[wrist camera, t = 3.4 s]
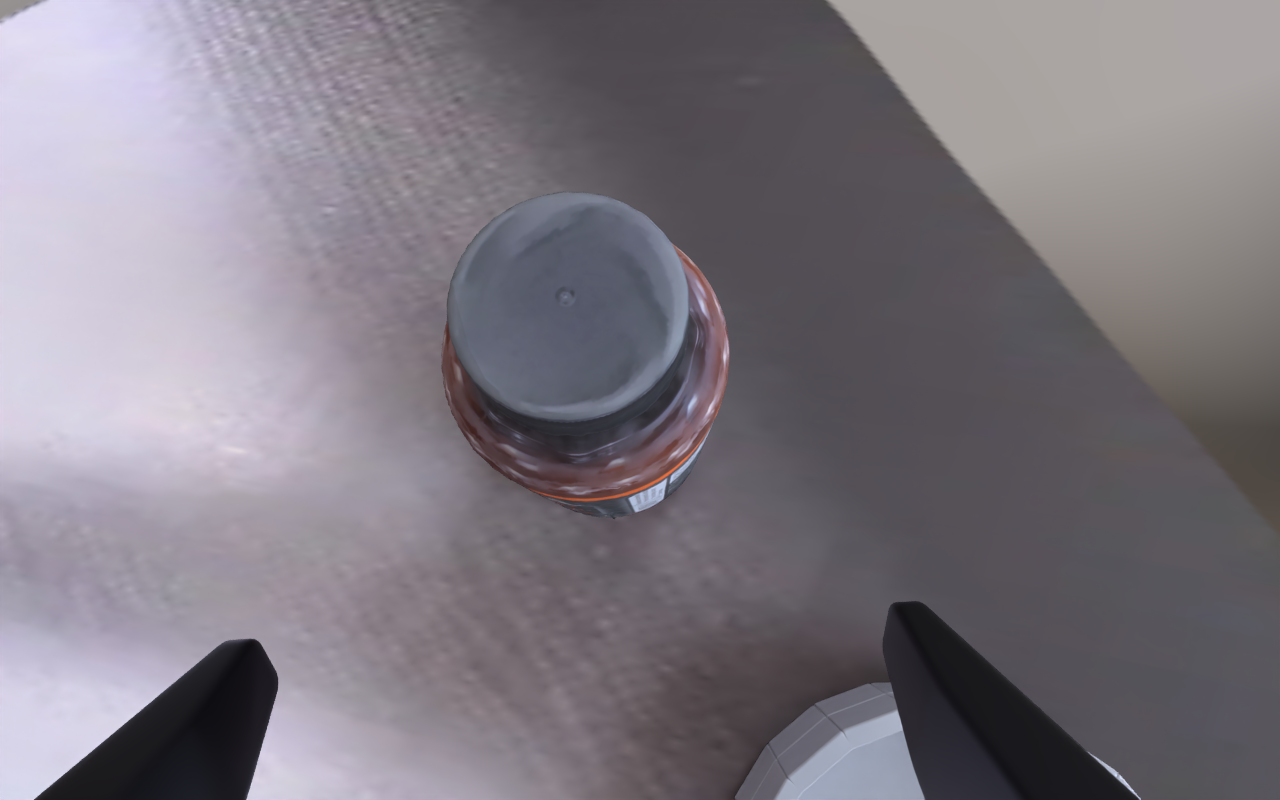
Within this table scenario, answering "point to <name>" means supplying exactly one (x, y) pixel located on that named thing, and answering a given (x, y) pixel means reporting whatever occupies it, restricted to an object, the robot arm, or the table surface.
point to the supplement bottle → (584, 353)
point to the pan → (842, 753)
